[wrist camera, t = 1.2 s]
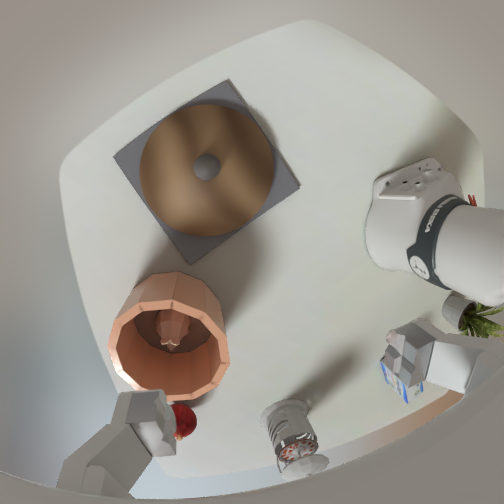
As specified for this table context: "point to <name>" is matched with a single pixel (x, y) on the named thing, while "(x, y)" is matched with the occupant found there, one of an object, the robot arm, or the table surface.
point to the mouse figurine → (172, 327)
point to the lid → (206, 170)
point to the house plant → (470, 317)
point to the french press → (293, 439)
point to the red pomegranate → (184, 420)
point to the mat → (201, 245)
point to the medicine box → (401, 384)
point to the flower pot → (163, 363)
